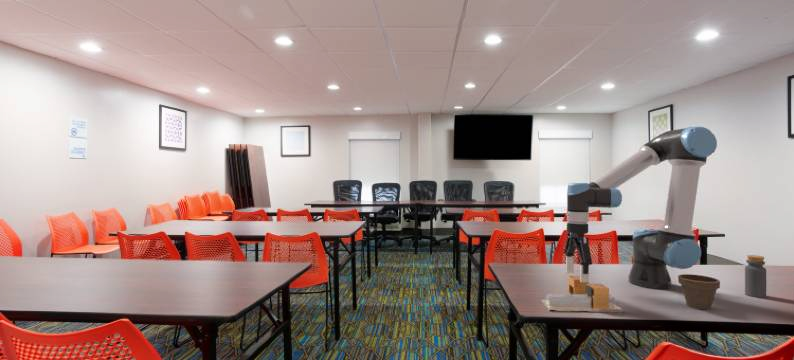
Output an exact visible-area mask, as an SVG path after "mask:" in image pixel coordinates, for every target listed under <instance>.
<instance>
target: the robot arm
mask: <svg viewBox="0 0 794 360" xmlns="http://www.w3.org/2000/svg"><path fill="white" fill-rule="evenodd" d="M717 147H718V140H717V137H716V135H715V134H714V133H713V132H712V131H711V130H710V129H709V128H707V127H704V126H688V127H685V128H678V129H672V130H667V131H664V132H662V133H661V134H658V135H657V136H656V137H653V138H652V139H651V140H649V141H648V142H646V143H645V144H643V145H642V146H640V147H639V150H638V151H637V152H635V153H634V154H632V155H631V156H629V157H627V158H626V159H625V160H623V161H621V162H619V164H617V165H616V166H614V167H612V168H611V169H610V170H608V171H606V172H605V173H603V174H602V175H600V176H598V177H597V178H596V179H595V180H593V181H591V182H589V183H588V182H569V183H568V184H567V190H566V191H567V192H566V202H567V203H566V204H567V206H566V210H567V211H566V214H565V216H566V221H567V223H566V231H567V233H566V240H565V245H564V249H563V254H564V255H565V257H566V258H565V261H566V262H565V273H567V274H573V273H574V272H575V271H574V269H575V268H574V265H575V264H574V261H575V259H574V257H575V251H576V249H577V253H578V255H579V259H580V263H579V266H580V270H579V271H580V273H579V274H580V275H579V276H580V282H586V283H589V284H590V282H589V280H590V279H589V275H590V274H589V273H590V265H591V266H592V265H593V260H592V259H593V258H592V255H591V251H590V245H589V238H588V237H585V234H586V235H587V234H588V233H589V224H588V223H589V218H590V216H589V215H590V213H589V212H590V211H589V208H601V209H603V208H605V209H606V208H609V209H612V208H618V207H620V206H621V204H622V201H623V195H622V192H621V190H620V189H618V187H621V186H622V185H623V184H625V183H626V182H628V181H630V180H632V178H635V177H636V176H637V175H639V174H640V173H642V172H643V171H645V170H646V169H648V168H649V167H652V166H657V165H659V164H660V163H662V162H665V161H668V163H670V165H671V166H672V167H671V173H670V180H669V186H668V193H667V201H666V207H665V214H664V219H663V220H664V221H663V226H661V227H660V228H658V229H636V230H634V231H633V234H632V243H633V244H632V258H633V260H632V262H633V263H632V266H631V269H630V271H629V274H628V282H629V283H631V284H633V285H636V286H639V287H643V288H648V289H649V288H650V289H669V288H672V287H673V286H672V278H671V276H670V274H669V271H668V268H667V266H668V267H670V268H675V269H680V270H687V269H690V268H692V267H694V266H695V265H696V264H697V263H698V262H699V261H700V259H701V256H702V249H701V247H700V244H699V243H697V241H696V234H695V233H694V231H693V230H692V228H693V226H692V225H693V221H694V214H695V207H696V198H697V191H698V185H699V178H700V172H701V168H702V167H703V166H705V165H706V164H707V161H708V160H707V158H708V157H710V156H711V155H712V154H715V151H716V149H717Z"/></svg>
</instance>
